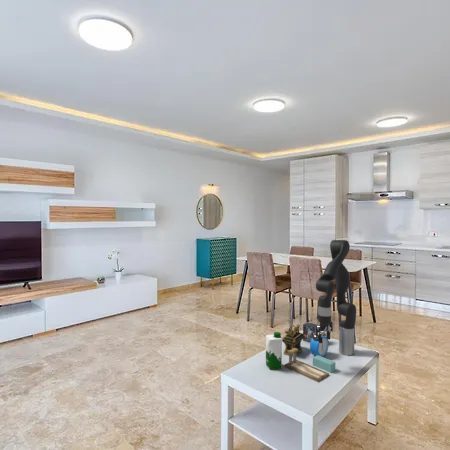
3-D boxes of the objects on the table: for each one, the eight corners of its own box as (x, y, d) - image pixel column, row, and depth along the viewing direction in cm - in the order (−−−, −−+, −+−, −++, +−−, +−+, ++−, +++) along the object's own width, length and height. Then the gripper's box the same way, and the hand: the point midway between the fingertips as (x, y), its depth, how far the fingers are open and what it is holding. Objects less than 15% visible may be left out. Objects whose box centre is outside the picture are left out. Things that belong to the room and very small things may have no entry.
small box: (302, 340, 229) (302, 324, 228) (306, 337, 234) (306, 321, 234) (319, 345, 220) (320, 328, 220) (323, 342, 225) (324, 325, 225)
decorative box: (291, 346, 219) (291, 317, 218) (304, 349, 213) (305, 320, 212) (278, 356, 203) (278, 325, 202) (292, 360, 197) (292, 329, 196)
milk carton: (283, 369, 185) (283, 335, 185) (268, 370, 183) (269, 336, 183) (277, 362, 194) (278, 330, 193) (263, 364, 192) (264, 331, 191)
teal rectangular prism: (317, 363, 194) (317, 355, 194) (335, 370, 185) (335, 362, 184) (312, 365, 191) (312, 357, 190) (330, 373, 181) (330, 364, 181)
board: (295, 361, 196) (295, 346, 196) (328, 375, 178) (329, 359, 178) (284, 366, 189) (284, 351, 188) (317, 382, 171) (318, 365, 171)
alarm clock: (317, 360, 197) (317, 336, 197) (309, 357, 202) (309, 333, 201) (328, 354, 206) (329, 331, 205) (320, 351, 210) (320, 329, 210)
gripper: (325, 310, 194) (325, 336, 195) (312, 314, 185) (311, 342, 185) (336, 313, 188) (336, 339, 189) (323, 317, 179) (323, 346, 180)
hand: (324, 341), depth 187 cm, fingers open, 8 cm apart
